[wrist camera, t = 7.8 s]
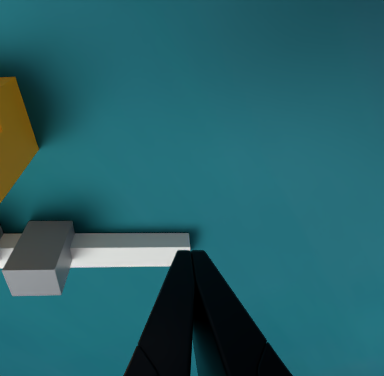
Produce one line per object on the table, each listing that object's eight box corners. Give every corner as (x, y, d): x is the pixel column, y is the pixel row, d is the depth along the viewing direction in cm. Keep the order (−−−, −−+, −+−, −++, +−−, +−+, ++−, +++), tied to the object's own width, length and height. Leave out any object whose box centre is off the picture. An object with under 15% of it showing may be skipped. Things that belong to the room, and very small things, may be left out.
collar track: (229, -250, 11) (267, -376, 7) (187, 251, 25) (191, 303, 21) (-410, -353, 9) (-854, -606, 5) (-68, 253, 23) (-115, 311, 19)
